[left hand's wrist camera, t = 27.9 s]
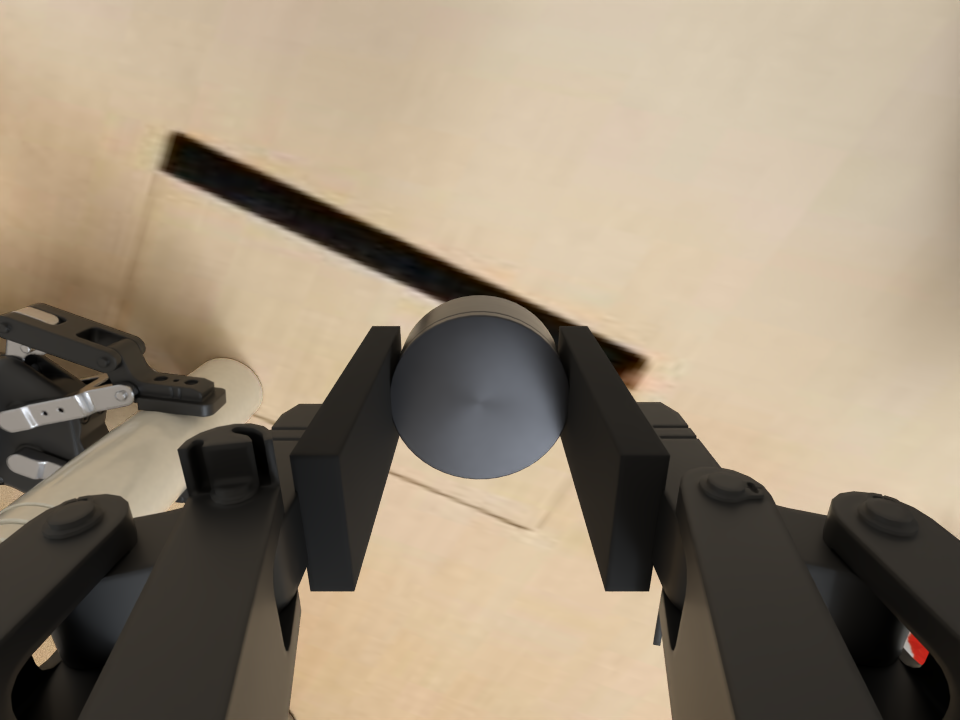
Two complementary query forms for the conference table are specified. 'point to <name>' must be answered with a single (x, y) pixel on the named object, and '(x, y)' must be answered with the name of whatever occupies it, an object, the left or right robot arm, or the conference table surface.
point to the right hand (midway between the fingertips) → (221, 445)
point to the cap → (479, 388)
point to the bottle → (140, 453)
